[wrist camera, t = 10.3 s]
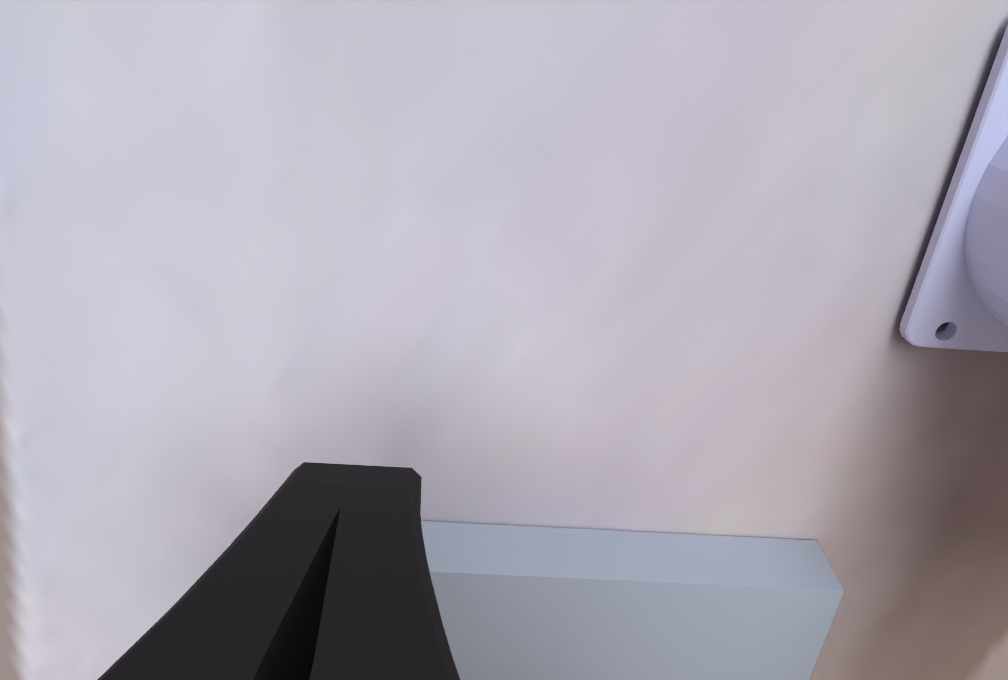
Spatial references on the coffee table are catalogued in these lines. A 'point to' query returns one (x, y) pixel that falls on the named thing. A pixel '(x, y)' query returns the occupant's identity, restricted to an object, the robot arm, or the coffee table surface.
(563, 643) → the mortise board
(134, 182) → the coffee table surface
